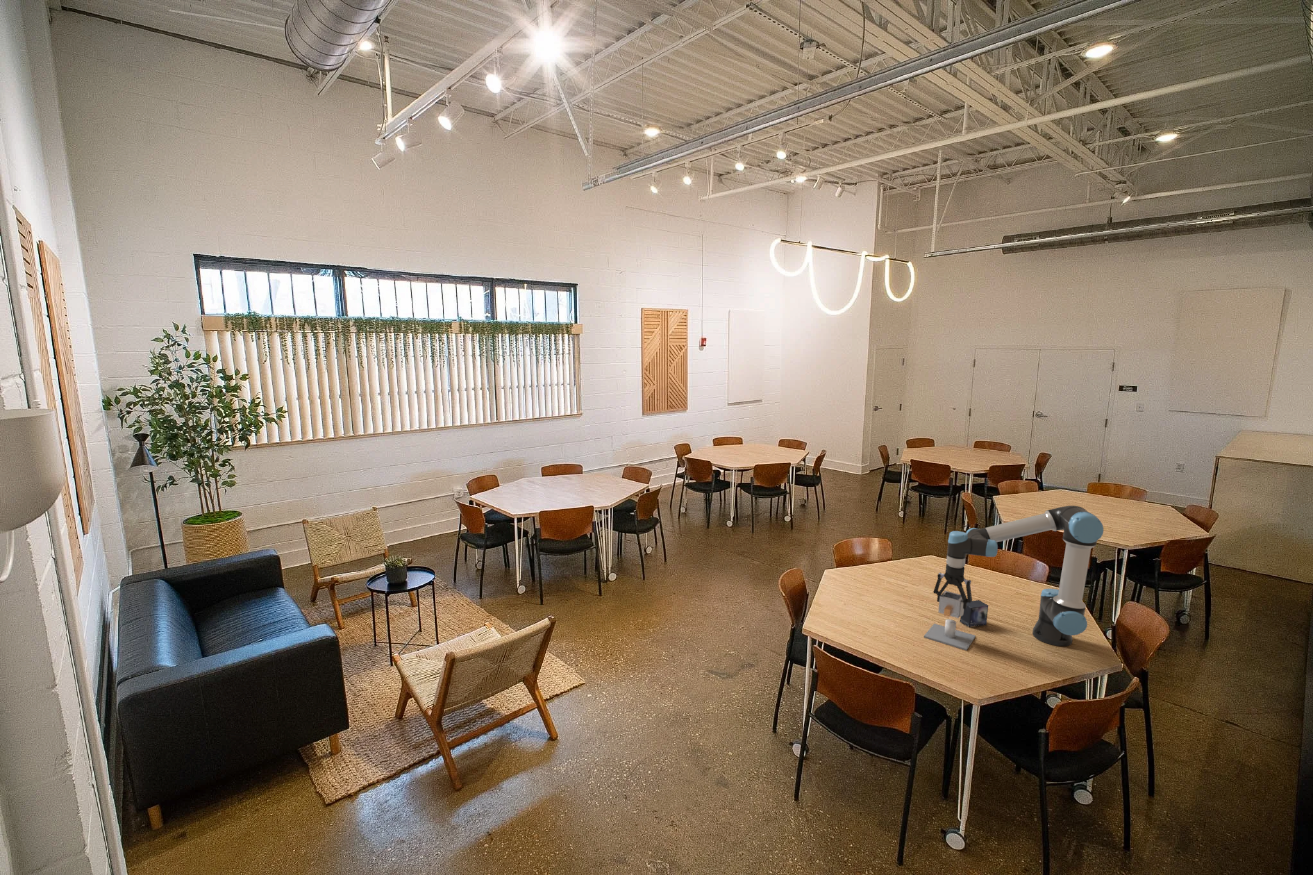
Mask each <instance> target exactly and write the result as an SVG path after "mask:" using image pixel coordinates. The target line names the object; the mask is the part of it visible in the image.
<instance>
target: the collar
mask: <svg viewBox="0 0 1313 875" xmlns="http://www.w3.org/2000/svg"><path fill="white" fill-rule="evenodd" d="M962 601H963V599H962V597H961V594H959V593H957V592H952V591H948V590H944V591H943V592H942V594H941V596H940V601H939V602H938V614H943V616H947V617H952V618H956V619H960V611H961V602H962Z"/></svg>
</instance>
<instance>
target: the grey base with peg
mask: <svg viewBox="0 0 1313 875" xmlns="http://www.w3.org/2000/svg"><path fill="white" fill-rule="evenodd" d="M932 624H933V625H932V626H931V627H930V628H929V629H928V630H927V631H926V633H925V634H923V638H925V639H928V640H930V641H934V642H937V643H941V644H944V645H946V646H947V645H948V646H950V647H954V648H957V649H960V650H962V651H967V650H968V649H969V647H970V646H971V645H972V643H973V641H974V640H975V638H976V635H975V634H972V633H970V632H969V633H968V632H964V631H961V630H958V629H957V628H956V627H957V622H956V621H955V620H953V619H950V618H949V619H945V624H944V625H942V624H941V625H940V624H937V623H932Z"/></svg>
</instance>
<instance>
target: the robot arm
mask: <svg viewBox="0 0 1313 875" xmlns="http://www.w3.org/2000/svg"><path fill="white" fill-rule="evenodd" d="M1047 531H1053V532H1057V531H1063V534H1062V540H1063V541H1064V543H1065V550H1064V556H1063V557H1064V558H1063V563H1062V570H1061V574H1060V581H1059V585H1058V586H1059V587H1058V589H1057V588H1056V589H1055V588H1044V589H1042V590H1041V594H1040V601H1039V602H1040V603H1039V610H1038V611H1039V612H1038V619H1037V621H1036V622H1035V624H1034V626H1033V628H1032V636H1033V637H1034V638H1036V640H1038V641H1041V642H1042V643H1046V644H1049V645H1050V646H1051V645H1052V646H1057V647H1068V646H1071V645H1072V644H1073V636H1077V635H1080V634H1082V633H1084V632H1085V631H1086V630H1087V627H1088V621H1087V618H1086V616H1085V613H1086V603H1085V602H1083V598H1084V592H1085V586H1086V581H1087V574H1088V568H1089V562H1090V558H1091V557H1090V556H1091V551H1092V550H1091V549H1093V548H1095V547H1096V546H1097V544H1098V540H1100V539H1101V538H1102V536H1103V535H1104V526H1103V523H1102V520H1100V519H1099V518H1098V517H1097V516H1096V515H1094V514H1093V513H1092V512H1089V511H1088V510H1086V509H1085V508H1084V507H1081V506H1080V505H1065V506H1060V507H1056V508H1055V507H1054V508H1051V509H1047V510H1045V511H1044V513H1041V514H1036V515H1031V516H1027V517H1025V518H1024V517H1023V518H1020V519H1016V520H1012V521H1008V522H1003V523H1000V524H995V525H992V526H988V527H982V528H975V527H972V528H969V529H968V530H966V532H964V531H958V530H953V531H950V532H949V535H948V540H947V551H946V552H947V553H946V560H945V562H946V564H945V572H944V573H942V572H938V574H937V581H936V583H935V586H934V589H933V592H932V593H933V594H936V595H937V597H936V601H937V602H938V603H939V601H940V596H941V595H942V593H943V592H944V591H946V588H947V587H948V586H949V585H953V586H955V587H957V589H958V591H959V593H960V595H961V597H962V599H963V601H962V602H961V611H960V616H962V615H963V613H964V609H966V608H967V603H968V602H969V603H970V602H971V601H973V598H972V597H973V596H972V589H971V584H972V580H971V579H966V578H965V569H966V568H965V566H966V560H967V559H966V558H967V557H966V556H967V555H971V556H977V557H979V556H981V557H986V558H989V557H990V558H994V557H996V556H997V554H998V548H999V546H998V542H1003V541H1008V540H1011V539H1012V540H1013V539H1017V538H1020V537H1026V536H1029V535H1033V534H1039V533H1042V532H1047ZM943 578H945V583H944V584H943V586H942V587H941V588H940V585H941V583H942V579H943ZM963 582H964V584H965V588H966V593H965V590H964V588H963V587H964V586H963ZM939 588H940V590H939Z"/></svg>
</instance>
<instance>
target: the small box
mask: <svg viewBox="0 0 1313 875" xmlns="http://www.w3.org/2000/svg"><path fill="white" fill-rule="evenodd" d="M988 612H989V605H988V604H986V603H985V602H983V601H982V600H981V599H976V600H975V599H974V600H972V601H971V602H970V603H969V602H968V603H967V608H966V609H964V613H963V615H962V616H960V617H959V623H961V624H963V625H965V627H968V628H973V627H974V628H975V627H981V626H987V620H988Z"/></svg>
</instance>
